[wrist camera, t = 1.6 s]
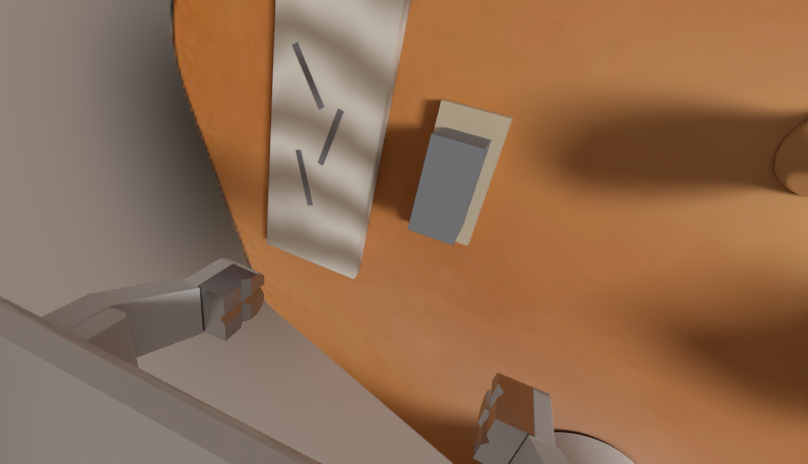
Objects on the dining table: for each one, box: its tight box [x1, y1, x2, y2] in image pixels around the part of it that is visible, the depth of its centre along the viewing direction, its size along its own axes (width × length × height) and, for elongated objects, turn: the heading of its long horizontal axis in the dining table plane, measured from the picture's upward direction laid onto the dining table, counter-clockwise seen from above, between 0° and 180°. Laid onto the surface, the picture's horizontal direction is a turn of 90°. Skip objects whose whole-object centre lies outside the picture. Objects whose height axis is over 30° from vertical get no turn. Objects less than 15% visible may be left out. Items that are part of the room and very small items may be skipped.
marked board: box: [267, 0, 411, 279], centre depth 34 cm, size 30×12×2 cm, turn 167°
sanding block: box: [408, 100, 513, 246], centre depth 29 cm, size 12×6×7 cm, turn 167°
